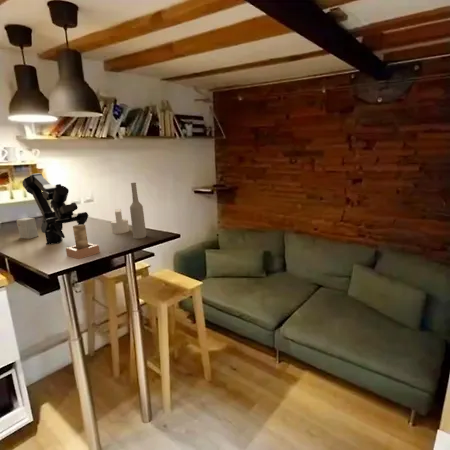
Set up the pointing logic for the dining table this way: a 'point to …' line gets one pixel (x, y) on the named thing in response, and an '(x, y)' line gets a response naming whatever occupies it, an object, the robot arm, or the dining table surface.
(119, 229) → the base with upright slab
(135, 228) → the bottle
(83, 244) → the peg
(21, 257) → the dining table surface
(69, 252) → the socket
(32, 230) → the small box
